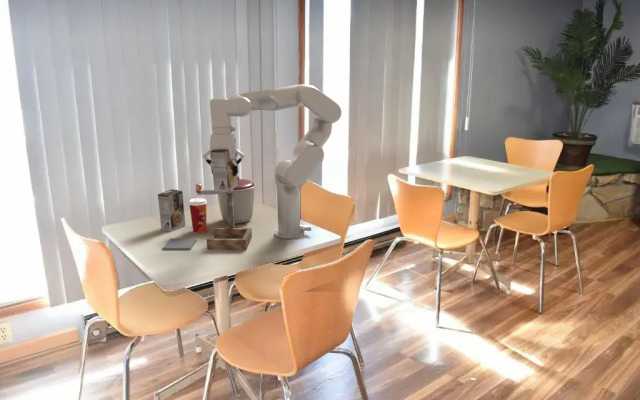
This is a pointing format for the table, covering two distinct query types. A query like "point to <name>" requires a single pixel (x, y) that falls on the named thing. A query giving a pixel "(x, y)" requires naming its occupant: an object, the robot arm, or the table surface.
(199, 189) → the lever
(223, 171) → the coffee box
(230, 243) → the wooden planter box
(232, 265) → the table surface
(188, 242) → the mat
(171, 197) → the coffee box
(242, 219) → the canister
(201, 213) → the paper cup
